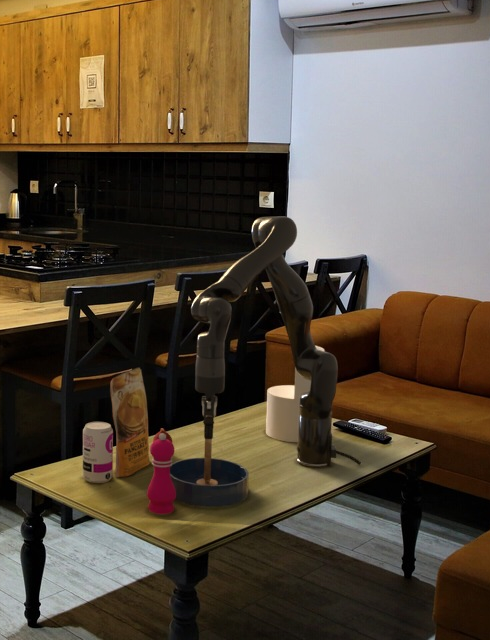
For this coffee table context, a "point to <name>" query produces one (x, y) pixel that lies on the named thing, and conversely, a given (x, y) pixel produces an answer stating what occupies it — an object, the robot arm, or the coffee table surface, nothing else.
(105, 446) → the supplement can
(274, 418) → the cylinder
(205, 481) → the wooden disc peg
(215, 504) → the bowl
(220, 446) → the coffee table surface
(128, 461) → the pancake mix bag
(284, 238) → the robot arm
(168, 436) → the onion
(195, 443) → the coffee table surface
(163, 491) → the pepper mill
